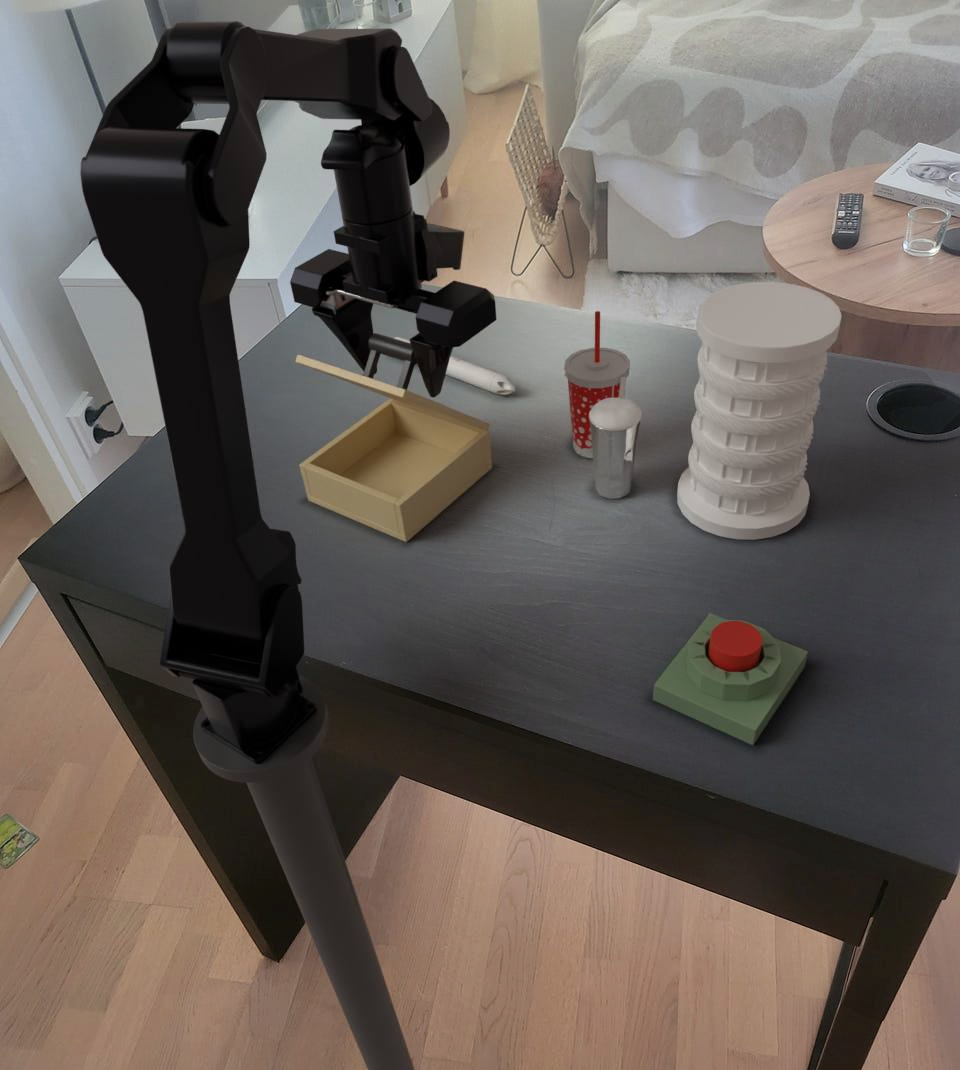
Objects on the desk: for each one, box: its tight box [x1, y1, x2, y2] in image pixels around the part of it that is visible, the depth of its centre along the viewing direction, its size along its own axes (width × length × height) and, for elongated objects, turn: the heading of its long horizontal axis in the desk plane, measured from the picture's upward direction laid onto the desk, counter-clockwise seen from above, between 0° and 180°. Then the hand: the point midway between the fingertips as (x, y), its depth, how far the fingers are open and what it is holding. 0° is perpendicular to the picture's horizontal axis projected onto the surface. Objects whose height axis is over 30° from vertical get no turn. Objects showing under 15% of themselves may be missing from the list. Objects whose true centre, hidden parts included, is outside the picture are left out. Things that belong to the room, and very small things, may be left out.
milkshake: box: [589, 377, 642, 500], centre depth 86 cm, size 4×5×10 cm
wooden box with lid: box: [295, 332, 491, 431], centre depth 86 cm, size 14×12×5 cm
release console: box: [652, 612, 809, 746], centre depth 70 cm, size 9×8×4 cm
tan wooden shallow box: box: [298, 398, 493, 543], centre depth 91 cm, size 13×12×4 cm
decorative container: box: [676, 281, 843, 541], centre depth 80 cm, size 12×12×18 cm
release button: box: [708, 621, 762, 672], centre depth 68 cm, size 4×4×2 cm
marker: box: [393, 336, 516, 396], centre depth 105 cm, size 18×2×2 cm, turn 49°
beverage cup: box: [563, 310, 631, 460], centre depth 89 cm, size 6×6×14 cm
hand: (403, 384), depth 87 cm, fingers open, 7 cm apart
